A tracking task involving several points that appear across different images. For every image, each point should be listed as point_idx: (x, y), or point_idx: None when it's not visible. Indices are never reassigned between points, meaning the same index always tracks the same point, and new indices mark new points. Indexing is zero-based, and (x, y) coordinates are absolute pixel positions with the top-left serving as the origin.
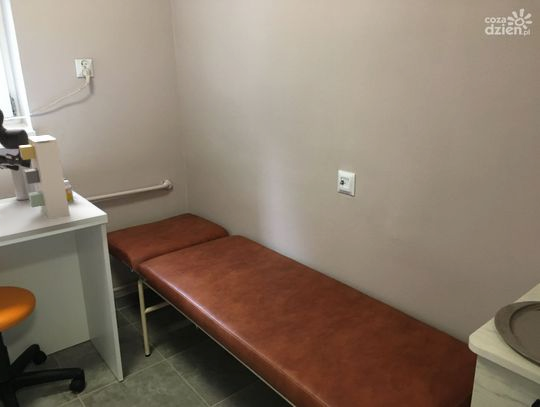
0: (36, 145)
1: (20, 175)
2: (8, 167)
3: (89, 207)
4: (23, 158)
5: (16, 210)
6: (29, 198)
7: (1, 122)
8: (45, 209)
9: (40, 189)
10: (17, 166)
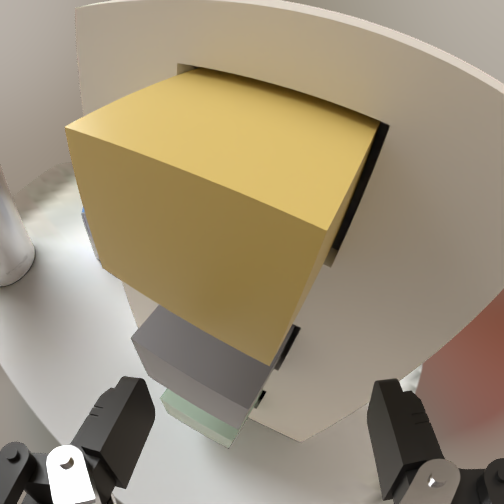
0: None
1: None
2: (110, 482)
3: None
4: (275, 351)
5: (62, 389)
6: (171, 410)
7: None
8: (254, 412)
9: None
10: (139, 394)
